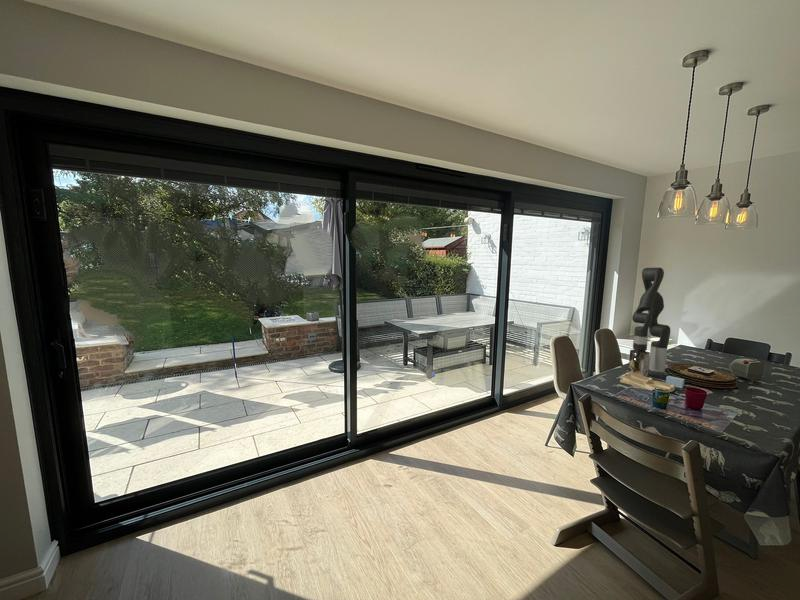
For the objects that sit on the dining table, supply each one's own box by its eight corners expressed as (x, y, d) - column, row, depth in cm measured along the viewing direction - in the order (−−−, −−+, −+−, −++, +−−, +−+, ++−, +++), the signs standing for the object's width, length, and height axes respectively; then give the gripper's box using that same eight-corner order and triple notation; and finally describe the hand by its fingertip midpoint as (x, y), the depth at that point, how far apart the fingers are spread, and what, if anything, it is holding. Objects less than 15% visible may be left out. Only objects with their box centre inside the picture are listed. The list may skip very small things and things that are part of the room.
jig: (628, 377, 219) (628, 372, 218) (674, 389, 199) (675, 383, 198) (619, 381, 211) (620, 375, 211) (667, 394, 191) (668, 388, 191)
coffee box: (627, 373, 224) (629, 350, 222) (633, 371, 227) (635, 348, 225) (642, 377, 216) (644, 353, 214) (648, 375, 218) (650, 352, 216)
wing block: (667, 383, 210) (668, 375, 210) (683, 386, 204) (684, 379, 203) (665, 384, 208) (666, 376, 207) (681, 388, 201) (682, 380, 201)
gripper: (637, 339, 226) (635, 363, 228) (629, 343, 217) (627, 367, 219) (650, 341, 220) (648, 365, 222) (642, 345, 211) (640, 370, 213)
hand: (638, 366), depth 220 cm, fingers closed on coffee box, 7 cm apart
